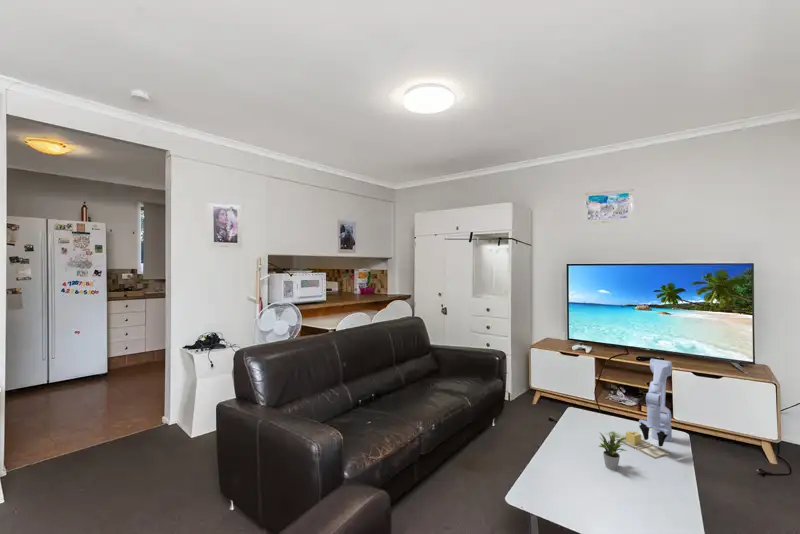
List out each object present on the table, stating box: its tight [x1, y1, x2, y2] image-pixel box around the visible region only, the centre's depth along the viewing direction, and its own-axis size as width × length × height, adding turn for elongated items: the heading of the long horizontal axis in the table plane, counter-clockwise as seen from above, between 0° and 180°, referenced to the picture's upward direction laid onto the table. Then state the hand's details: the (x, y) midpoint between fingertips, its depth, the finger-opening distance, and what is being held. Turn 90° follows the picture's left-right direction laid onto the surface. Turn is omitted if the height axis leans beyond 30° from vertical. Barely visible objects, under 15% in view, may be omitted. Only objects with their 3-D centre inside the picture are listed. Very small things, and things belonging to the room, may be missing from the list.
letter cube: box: [625, 430, 642, 445], centre depth 210 cm, size 5×5×5 cm
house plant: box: [598, 431, 628, 471], centre depth 185 cm, size 14×14×16 cm
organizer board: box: [604, 430, 672, 459], centre depth 209 cm, size 13×31×1 cm, turn 22°
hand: (653, 442), depth 200 cm, fingers open, 7 cm apart
